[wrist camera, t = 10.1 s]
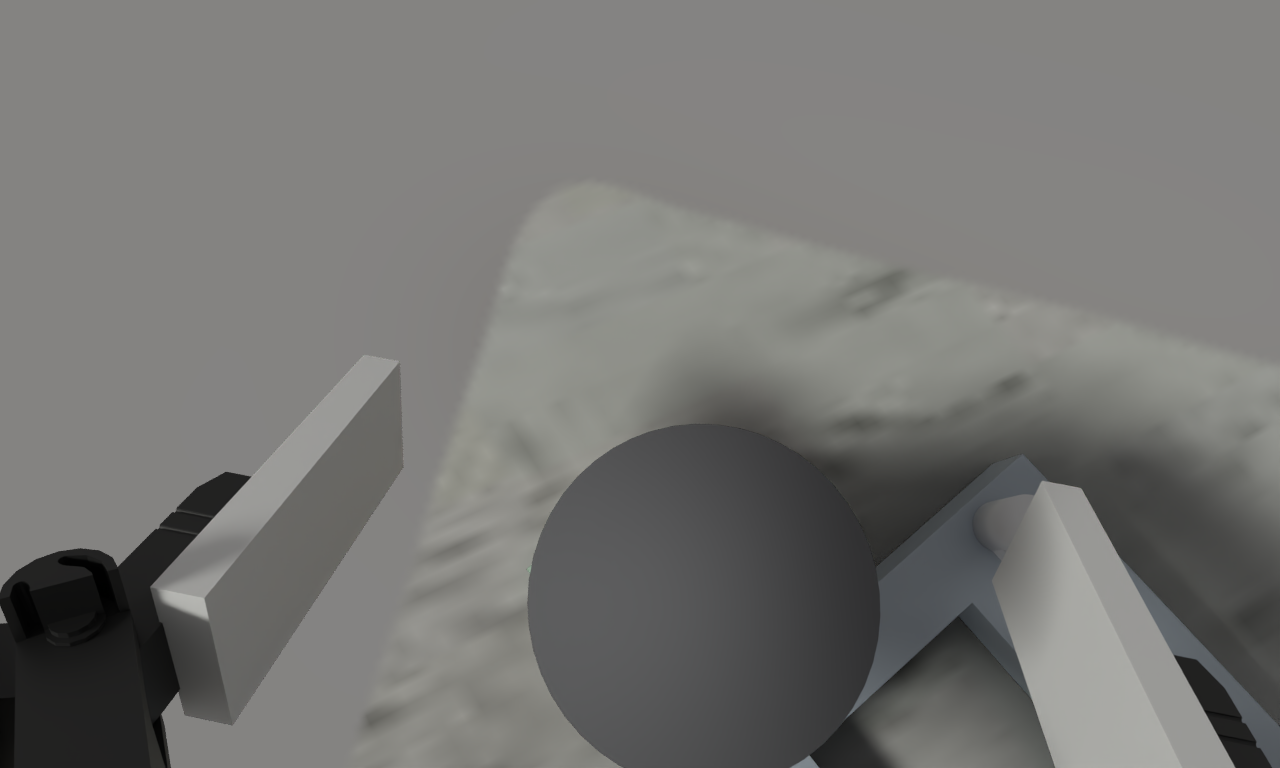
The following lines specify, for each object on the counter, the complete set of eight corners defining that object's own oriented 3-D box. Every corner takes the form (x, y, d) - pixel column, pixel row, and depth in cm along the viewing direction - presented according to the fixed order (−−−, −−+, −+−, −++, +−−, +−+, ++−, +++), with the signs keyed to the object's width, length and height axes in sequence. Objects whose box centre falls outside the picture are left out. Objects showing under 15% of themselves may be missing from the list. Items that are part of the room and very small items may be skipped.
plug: (817, 601, 23) (1031, 631, 10) (656, 742, 22) (673, 967, 9) (683, 442, 24) (727, 291, 11) (526, 571, 23) (384, 563, 10)
